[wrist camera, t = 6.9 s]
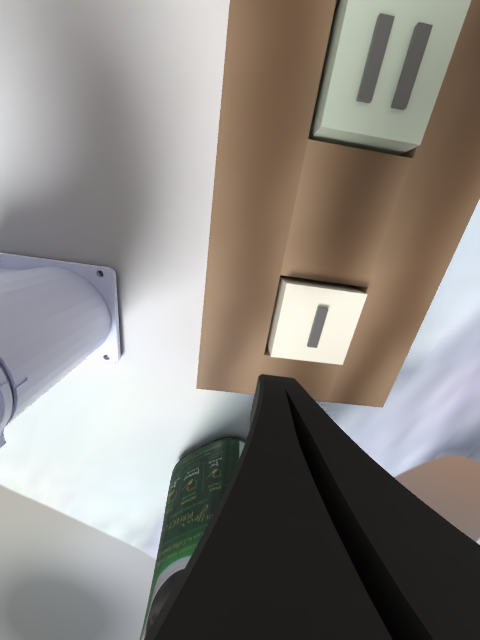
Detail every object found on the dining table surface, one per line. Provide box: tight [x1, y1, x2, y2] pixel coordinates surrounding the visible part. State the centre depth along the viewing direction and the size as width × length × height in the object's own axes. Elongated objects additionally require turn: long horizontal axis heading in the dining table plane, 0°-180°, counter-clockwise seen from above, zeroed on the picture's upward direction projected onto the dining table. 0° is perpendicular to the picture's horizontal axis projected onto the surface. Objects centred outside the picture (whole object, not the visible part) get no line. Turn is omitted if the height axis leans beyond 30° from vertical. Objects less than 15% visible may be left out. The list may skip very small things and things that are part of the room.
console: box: [196, 0, 480, 407], centre depth 14 cm, size 14×24×4 cm, turn 172°
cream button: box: [267, 275, 367, 365], centre depth 15 cm, size 5×5×4 cm
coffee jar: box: [140, 437, 246, 640], centre depth 16 cm, size 10×8×19 cm
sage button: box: [308, 0, 471, 156], centre depth 11 cm, size 5×5×4 cm
